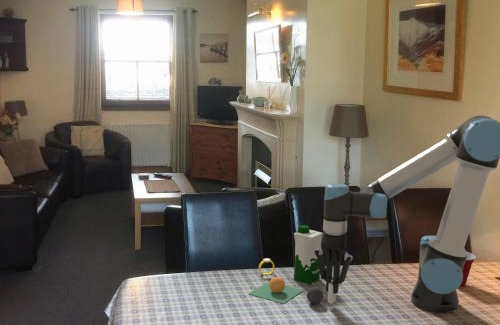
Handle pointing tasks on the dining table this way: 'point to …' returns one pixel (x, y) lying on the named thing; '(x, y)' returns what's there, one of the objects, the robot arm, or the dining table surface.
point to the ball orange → (277, 284)
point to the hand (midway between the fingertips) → (331, 301)
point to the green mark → (277, 297)
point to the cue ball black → (314, 295)
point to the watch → (266, 262)
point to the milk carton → (306, 255)
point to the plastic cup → (467, 268)
